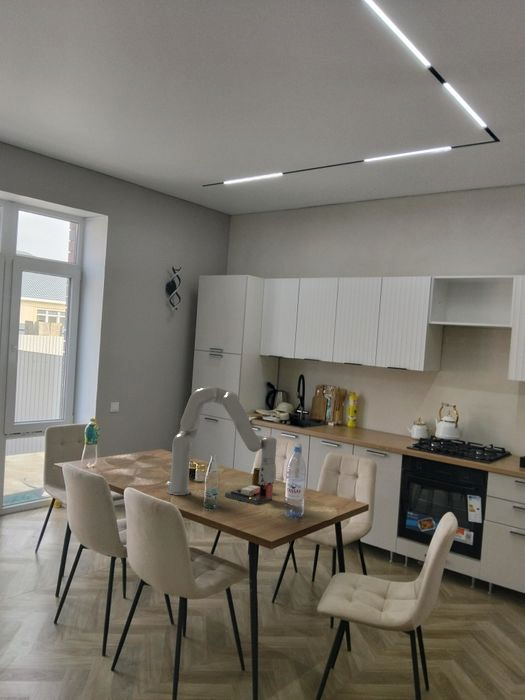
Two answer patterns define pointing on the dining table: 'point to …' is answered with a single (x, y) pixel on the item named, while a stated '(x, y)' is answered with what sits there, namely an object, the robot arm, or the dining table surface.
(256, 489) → the breaker
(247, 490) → the breaker
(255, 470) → the condiment
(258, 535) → the dining table surface
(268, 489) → the cap
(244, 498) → the panel
